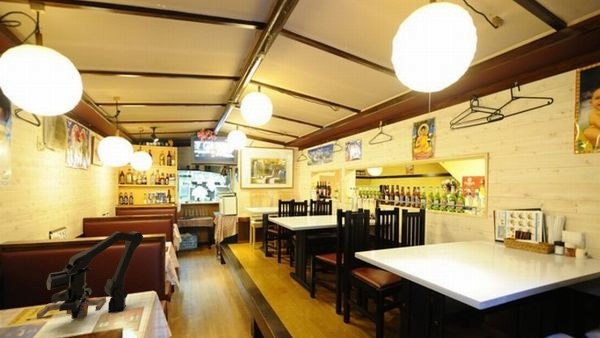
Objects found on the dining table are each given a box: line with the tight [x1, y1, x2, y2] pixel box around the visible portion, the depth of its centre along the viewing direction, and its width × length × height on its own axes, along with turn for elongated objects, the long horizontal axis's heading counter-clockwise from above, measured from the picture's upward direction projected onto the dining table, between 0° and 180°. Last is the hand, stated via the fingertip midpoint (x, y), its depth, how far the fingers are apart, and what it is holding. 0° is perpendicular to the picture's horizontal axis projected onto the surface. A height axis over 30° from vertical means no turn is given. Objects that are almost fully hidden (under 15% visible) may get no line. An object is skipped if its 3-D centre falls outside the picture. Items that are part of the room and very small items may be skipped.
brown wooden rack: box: [36, 296, 107, 319], centre depth 139 cm, size 25×10×3 cm, turn 110°
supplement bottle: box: [71, 293, 90, 320], centre depth 131 cm, size 6×6×11 cm
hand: (75, 317), depth 125 cm, fingers closed
